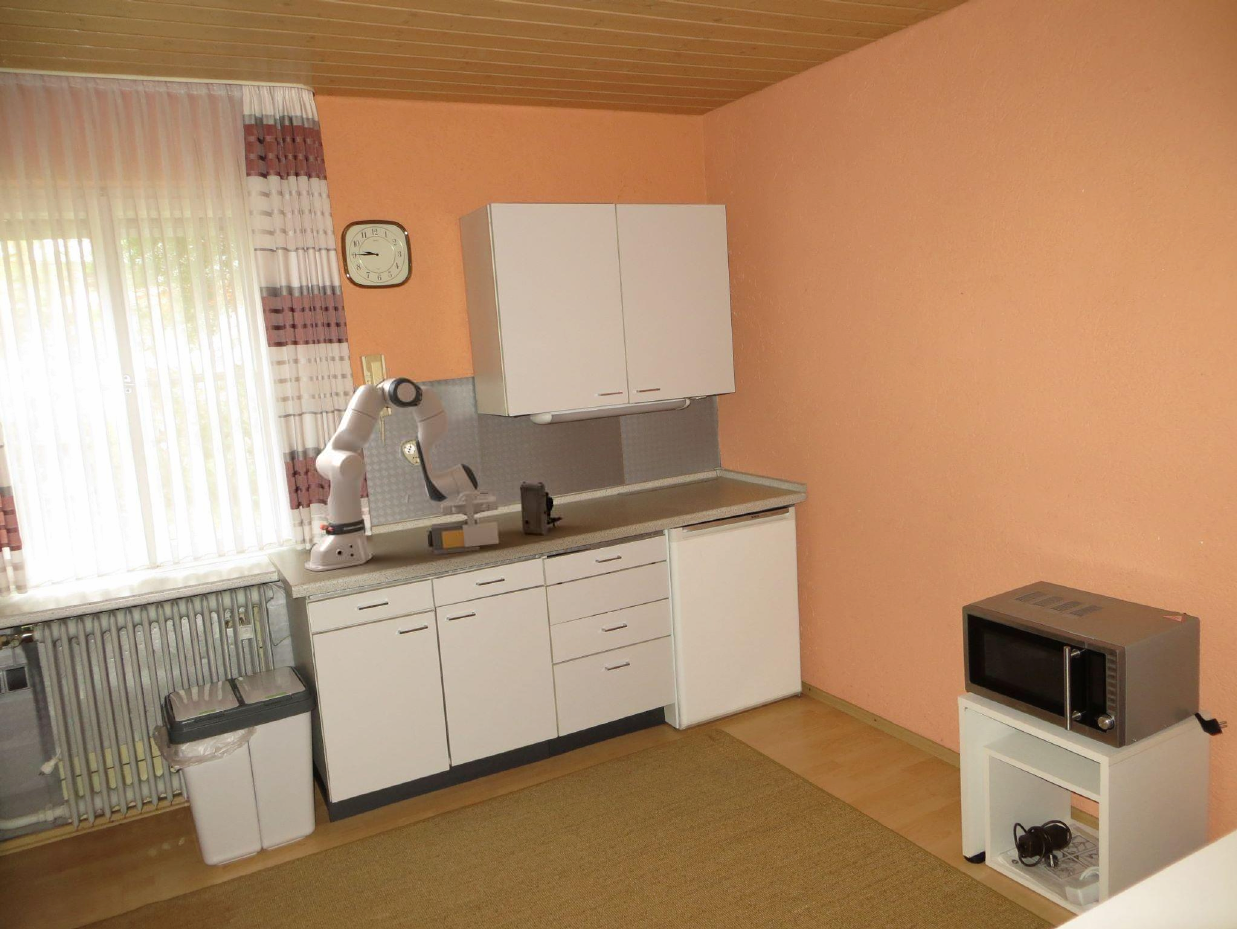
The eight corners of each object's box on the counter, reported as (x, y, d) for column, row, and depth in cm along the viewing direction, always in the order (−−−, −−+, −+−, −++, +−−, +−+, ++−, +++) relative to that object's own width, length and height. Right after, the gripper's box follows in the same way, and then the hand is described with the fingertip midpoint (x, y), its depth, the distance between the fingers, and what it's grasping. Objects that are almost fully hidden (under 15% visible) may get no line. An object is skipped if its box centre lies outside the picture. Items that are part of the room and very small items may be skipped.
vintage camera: (566, 528, 347) (562, 477, 345) (543, 535, 334) (539, 482, 332) (545, 527, 352) (542, 477, 350) (522, 535, 339) (518, 482, 337)
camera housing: (429, 555, 316) (426, 527, 314) (429, 549, 325) (426, 522, 324) (479, 549, 319) (477, 522, 317) (478, 543, 328) (476, 517, 327)
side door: (464, 547, 317) (459, 494, 315) (464, 546, 319) (459, 493, 317) (498, 543, 319) (494, 491, 317) (498, 542, 321) (494, 490, 319)
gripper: (439, 497, 328) (439, 504, 314) (495, 492, 331) (497, 498, 318) (441, 514, 328) (440, 522, 315) (497, 509, 332) (499, 516, 319)
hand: (470, 510), depth 316 cm, fingers open, 8 cm apart
